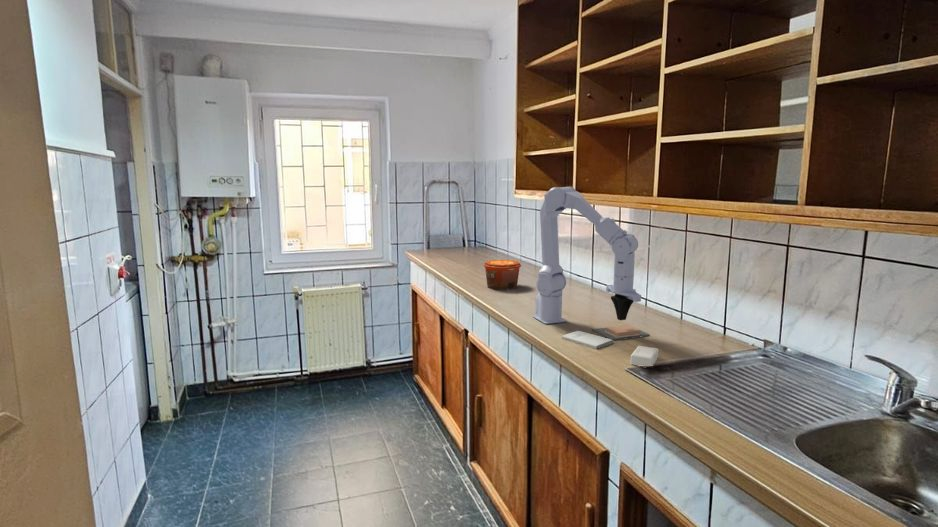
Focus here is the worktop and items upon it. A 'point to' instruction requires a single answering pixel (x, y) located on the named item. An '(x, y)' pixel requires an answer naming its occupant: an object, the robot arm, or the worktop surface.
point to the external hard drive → (587, 339)
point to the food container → (502, 274)
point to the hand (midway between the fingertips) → (621, 319)
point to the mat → (603, 332)
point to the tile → (622, 331)
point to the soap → (644, 356)
